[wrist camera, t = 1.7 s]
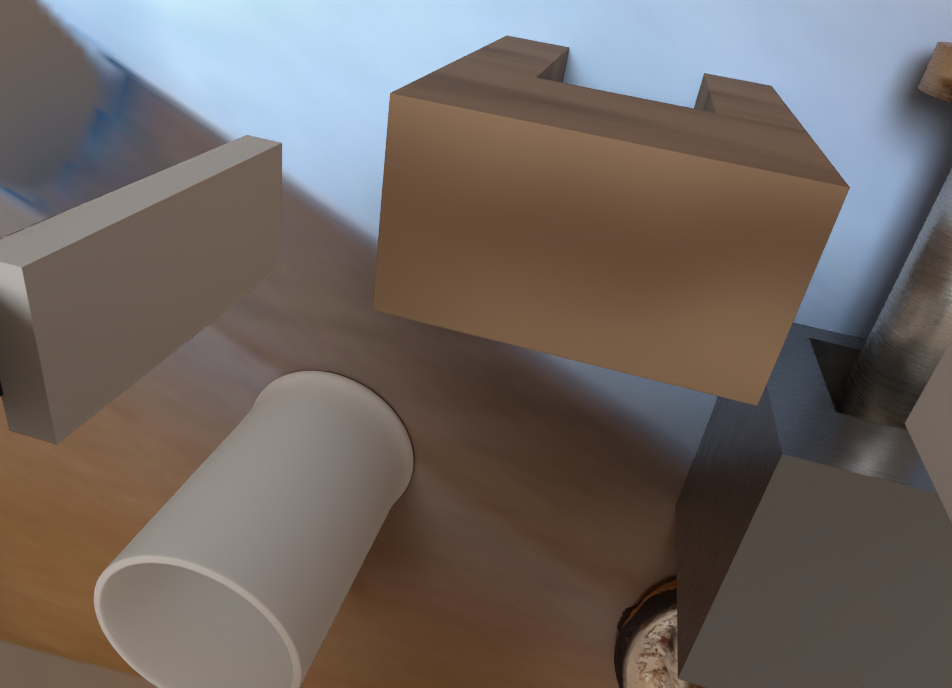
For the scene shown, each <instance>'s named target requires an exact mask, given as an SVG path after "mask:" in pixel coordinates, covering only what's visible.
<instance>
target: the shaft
mask: <svg viewBox="0 0 952 688" xmlns="http://www.w3.org/2000/svg"><path fill="white" fill-rule="evenodd" d="M918 89H919V90H921V91H922V92H924V93H926V94H928V95H931V96H933V97H936V98H939V99H941V100H944V101H947V102H950V103H952V43H950V42H938V43H937V45H936V47H935V50H934V52H933V54H932V56H931V59H930V61H929V63H928V65H927V68H926V70H925V72H924V75H923V77H922V79H921V81H920V84H919V86H918ZM951 340H952V168H951V170H950V172H949V174H948V176H947V178H946V180H945V182H944V185H943V187H942V189H941V191H940V193H939V195H938V197H937V199H936V201H935V203H934V205H933V207H932V209H931V211H930V213H929V215H928V217H927V219H926V221H925V223H924V225H923V227H922V229H921V231H920V233H919V235H918V237H917V239H916V241H915V243H914V246H913V248H912V250H911V252H910V254H909V256H908V258H907V260H906V262H905V264H904V266H903V268H902V270H901V272H900V274H899V276H898V278H897V280H896V282H895V284H894V286H893V288H892V290H891V292H890V294H889V296H888V298H887V300H886V302H885V304H884V307H883V309H882V311H881V313H880V315H879V317H878V319H877V321H876V323H875V325H874V327H873V329H872V331H871V333H870V335H869V337H868V339H867V341H866V343H865V345H864V347H863V349H862V351H861V353H860V355H859V357H858V359H857V361H856V363H855V365H854V368H853V370H852V372H851V374H850V376H849V378H848V380H847V382H846V384H845V386H844V388H843V390H842V392H841V394H840V396H839V398H838V400H837V402H836V404H835V406H834V409H835V411H836V413H840V414H844V415H848V416H852V417H856V418H860V419H864V420H868V421H873V422H877V423H881V424H885V425H889V426H893V427H897V428H901V429H905V430H907V428H906V425H905V422H906V420H907V418H908V417H909V415H910V413H911V411H912V409H913V408H914V406H915V404H916V402H917V401H918V399H919V397H920V395H921V394H922V392H923V390H924V388H925V386H926V385H927V383H928V381H929V379H930V378H931V376H932V374H933V372H934V371H935V369H936V367H937V365H938V363H939V362H940V360H941V358H942V356H943V355H944V353H945V351H946V349H947V348H948V346H949V344H950V342H951Z"/></svg>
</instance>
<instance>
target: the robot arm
mask: <svg viewBox="0 0 952 688" xmlns="http://www.w3.org/2000/svg"><path fill="white" fill-rule="evenodd" d="M281 225H282V143H280V142H276V141H271V140H267V139H263V138H258V137H254V136H249V135H246V136H243V137H241V138H239V139H236V140H234V141H232V142H229V143H227V144H225V145H222V146H220V147H217V148H215V149H213V150H210V151H208V152H206V153H203V154H201V155H198V156H196V157H194V158H191V159H189V160H187V161H184V162H182V163H180V164H177V165H175V166H172V167H170V168H168V169H165V170H163V171H161V172H158V173H156V174H153V175H151V176H149V177H146V178H144V179H142V180H139V181H137V182H134V183H132V184H130V185H127V186H125V187H123V188H120V189H118V190H116V191H113V192H111V193H108V194H106V195H104V196H101V197H99V198H97V199H94V200H92V201H89V202H87V203H85V204H82V205H80V206H78V207H75V208H73V209H71V210H68V211H66V212H63V213H61V214H59V215H55V216H53V217H50V218H48V219H45V220H43V221H41V222H38V223H36V224H34V225H31V226H29V227H28V228H26V229H22V230H19V231H17V232H15V233H12V234H10V235H8V236H7V237H4V238H0V396H2V401H3V405H4V409H5V413H6V417H7V421H8V426H9V430H10V431H13V432H17V433H20V434H23V435H27V436H30V437H33V438H36V439H40V440H43V441H46V442H50V443H53V444H56V445H57V444H58V443H60V442H61V441H62V440H63V439H65V438H66V437H67V436H68V435H70V434H71V433H72V432H74V431H75V430H76V429H77V428H79V427H80V426H81V425H82V424H84V423H85V422H86V421H87V420H89V419H90V418H91V417H93V416H94V415H95V414H96V413H98V412H99V411H100V410H101V409H103V408H104V407H105V406H106V405H108V404H109V403H110V402H112V401H113V400H114V399H115V398H117V397H118V396H119V395H120V394H122V393H123V392H124V391H125V390H127V389H128V388H129V387H130V386H132V385H133V384H134V383H136V382H137V381H138V380H139V379H141V378H142V377H143V376H144V375H146V374H147V373H148V372H149V371H151V370H152V369H153V368H155V367H156V366H157V365H158V364H160V363H161V362H162V361H163V360H165V359H166V358H167V357H168V356H170V355H171V354H172V353H174V352H175V351H176V350H177V349H179V348H180V347H181V346H182V345H184V344H185V343H186V342H187V341H189V340H190V339H191V338H193V337H194V336H195V335H196V334H198V333H199V332H200V331H201V330H203V329H204V328H205V327H206V326H208V325H209V324H210V323H212V322H213V321H214V320H215V319H217V318H218V317H219V316H220V315H222V314H223V313H224V312H225V311H227V310H228V309H229V308H231V307H232V306H233V305H234V304H236V303H237V302H238V301H239V300H241V299H242V298H243V297H244V296H246V295H247V294H248V293H250V292H251V291H252V290H253V289H255V288H256V287H257V286H258V285H260V284H261V283H262V282H263V281H265V280H266V279H267V278H268V277H270V276H271V275H272V274H274V273H275V272H276V271H277V270H279V269H280V268H281ZM905 425H906V428H907V430H908V432H909V434H910V436H911V438H912V440H913V442H914V444H915V447H916V449H917V451H918V453H919V455H920V457H921V459H922V461H923V463H924V466H925V468H926V470H927V472H928V474H929V476H930V478H931V480H932V482H933V484H934V487H935V489H936V491H937V493H938V495H939V497H940V499H941V501H942V503H943V506H944V508H945V510H946V512H947V514H948V516H949V518H950V520H951V522H952V340H951V342H950V344H949V346H948V348H947V349H946V351H945V353H944V355H943V356H942V358H941V360H940V362H939V363H938V365H937V367H936V369H935V371H934V372H933V374H932V376H931V378H930V379H929V381H928V383H927V385H926V386H925V388H924V390H923V392H922V394H921V395H920V397H919V399H918V401H917V402H916V404H915V406H914V408H913V409H912V411H911V413H910V415H909V417H908V418H907V420H906V422H905Z"/></svg>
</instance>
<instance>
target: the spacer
mask: <svg viewBox="0 0 952 688" xmlns="http://www.w3.org/2000/svg"><path fill="white" fill-rule="evenodd" d="M568 50H569V47H564V46H558V45H553V44H548V43H543V42H537V41H532V40H527V39H522V38H516V37H511V36H505V37H503V38H501V39H499V40H497V41H495V42H493V43H491V44H489V45H487V46H485V47H483V48H481V49H479V50H477V51H475V52H473V53H471V54H469V55H467V56H464V57H462V58H460V59H458V60H456V61H454V62H452V63H450V64H448V65H446V66H444V67H442V68H440V69H438V70H436V71H434V72H432V73H430V74H428V75H426V76H424V77H422V78H420V79H418V80H416V81H414V82H412V83H410V84H408V85H406V86H404V87H402V88H400V89H398V90H396V91H394V92H392V93H390V102H389V115H388V127H387V139H386V151H385V163H384V176H383V188H382V200H381V212H380V225H379V237H378V249H377V261H376V274H375V286H374V298H373V310H374V311H378V312H382V313H386V314H390V315H394V316H398V317H402V318H406V319H410V320H414V321H418V322H422V323H426V324H430V325H434V326H438V327H442V328H446V329H450V330H454V331H458V332H462V333H466V334H470V335H474V336H478V337H482V338H487V339H491V340H495V341H499V342H503V343H507V344H511V345H515V346H519V347H523V348H527V349H531V350H535V351H539V352H543V353H547V354H551V355H555V356H559V357H563V358H567V359H571V360H575V361H579V362H583V363H587V364H591V365H595V366H599V367H603V368H607V369H611V370H615V371H619V372H623V373H627V374H631V375H635V376H639V377H643V378H648V379H652V380H656V381H660V382H664V383H668V384H672V385H676V386H680V387H684V388H688V389H692V390H696V391H700V392H704V393H708V394H712V395H716V396H720V397H724V398H728V399H732V400H736V401H740V402H744V403H748V404H752V405H756V406H757V405H758V403H759V401H760V398H761V396H762V394H763V391H764V389H765V387H766V384H767V382H768V379H769V377H770V375H771V372H772V370H773V368H774V365H775V363H776V361H777V358H778V356H779V354H780V351H781V349H782V346H783V344H784V342H785V339H786V337H787V335H788V332H789V330H790V328H791V325H792V323H793V321H794V318H795V316H796V313H797V311H798V309H799V306H800V304H801V302H802V299H803V297H804V295H805V292H806V290H807V288H808V285H809V283H810V280H811V278H812V276H813V273H814V271H815V269H816V266H817V264H818V262H819V259H820V257H821V255H822V252H823V250H824V247H825V245H826V243H827V240H828V238H829V236H830V233H831V231H832V229H833V226H834V224H835V222H836V219H837V217H838V214H839V212H840V210H841V207H842V205H843V203H844V200H845V198H846V196H847V193H848V191H849V189H850V187H849V186H848V185H847V183H846V182H845V181H844V179H843V178H842V177H841V175H840V174H839V173H838V172H837V170H836V169H835V168H834V166H833V165H832V164H831V163H830V161H829V160H828V159H827V157H826V156H825V155H824V153H823V152H822V151H821V150H820V148H819V147H818V146H817V144H816V143H815V142H814V140H813V139H812V138H811V137H810V135H809V134H808V133H807V131H806V130H805V129H804V127H803V126H802V125H801V124H800V122H799V121H798V120H797V118H796V117H795V116H794V115H793V113H792V112H791V111H790V109H789V108H788V107H787V105H786V104H785V103H784V102H783V100H782V99H781V98H780V96H779V95H778V94H777V92H776V91H775V90H774V89H773V87H772V86H769V85H763V84H758V83H753V82H748V81H742V80H737V79H732V78H727V77H721V76H716V75H711V74H706V73H704V76H703V80H702V83H701V86H700V90H699V93H698V97H697V100H696V104H695V107H694V109H693V108H688V107H683V106H677V105H672V104H667V103H662V102H657V101H652V100H647V99H642V98H637V97H632V96H627V95H622V94H617V93H611V92H606V91H601V90H596V89H591V88H586V87H581V86H576V85H571V84H566V83H562V81H563V76H564V71H565V66H566V61H567V55H568Z"/></svg>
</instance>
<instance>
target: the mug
mask: <svg viewBox="0 0 952 688" xmlns="http://www.w3.org/2000/svg"><path fill="white" fill-rule="evenodd" d="M413 462H414V460H413V450H412V445H411V442H410V438H409V436H408V433H407V431H406V429H405V427H404V425H403V424H402V422H401V420H400V419H399V417H398V416H397V415H396V413H395V412H394V411H393V410H392V408H391V407H390V406H389V405H388V404H387V403H386V402H385V401H384V400H383V399H382V398H380V397H379V396H378V395H377V394H375V393H374V392H373V391H371V390H370V389H368V388H367V387H365V386H363V385H362V384H360V383H358V382H356V381H354V380H352V379H349V378H347V377H344V376H341V375H338V374H334V373H330V372H324V371H299V372H294V373H290V374H287V375H284V376H282V377H280V378H278V379H276V380H274V381H273V382H271V383H270V384H269V385H268V386H266V387H265V388H264V389H263V391H262V392H261V393H260V394H259V396H258V397H257V399H256V401H255V402H254V405H253V407H252V409H251V410H250V412H249V413H248V414H247V415H246V416H245V418H244V419H243V420H242V421H241V422H240V423H239V424H238V425H237V427H236V428H235V429H234V430H233V431H232V432H231V433H230V434H229V435H228V436H227V437H226V439H225V440H224V441H223V442H222V443H221V444H220V445H219V446H218V447H217V448H216V449H215V450H214V452H213V453H212V454H211V455H210V456H209V457H208V458H207V459H206V460H205V461H204V462H203V464H202V465H201V466H200V467H199V468H198V469H197V470H196V471H195V472H194V473H193V474H192V475H191V477H190V478H189V479H188V480H187V481H186V482H185V483H184V484H183V485H182V486H181V487H180V489H179V490H178V491H177V492H176V493H175V494H174V495H173V496H172V497H171V498H170V499H169V500H168V502H167V503H166V504H165V505H164V506H163V507H162V508H161V509H160V510H159V511H158V512H157V513H156V515H155V516H154V517H153V518H152V519H151V520H150V521H149V522H148V523H147V524H146V525H145V527H144V528H143V529H142V530H141V531H140V532H139V533H138V534H137V535H136V536H135V537H134V538H133V540H132V541H131V542H130V543H129V544H128V545H127V546H126V547H125V548H124V549H123V550H122V552H121V553H120V554H119V555H118V556H117V557H116V558H115V559H114V560H113V561H112V562H111V564H110V565H109V566H108V567H107V568H106V569H105V570H104V572H103V573H102V574H101V576H100V577H99V579H98V581H97V583H96V587H95V591H94V607H95V612H96V616H97V619H98V621H99V624H100V626H101V628H102V630H103V632H104V634H105V636H106V637H107V639H108V640H109V642H110V643H111V645H112V646H113V647H114V649H115V650H116V651H117V653H118V654H119V655H120V656H121V657H122V658H123V659H124V660H125V661H126V662H127V663H128V664H129V665H130V666H131V667H132V668H133V669H134V670H135V671H136V672H137V673H139V674H140V675H141V676H142V677H144V678H145V679H146V680H148V681H149V682H150V683H152V684H153V685H155V686H156V687H158V688H300V686H301V684H302V682H303V680H304V678H305V676H306V675H307V673H308V671H309V669H310V667H311V665H312V663H313V661H314V659H315V657H316V655H317V653H318V651H319V649H320V647H321V645H322V643H323V641H324V639H325V637H326V635H327V633H328V631H329V629H330V627H331V625H332V623H333V621H334V619H335V617H336V615H337V613H338V611H339V609H340V607H341V605H342V603H343V601H344V599H345V597H346V595H347V594H348V592H349V590H350V588H351V586H352V584H353V582H354V580H355V578H356V576H357V574H358V572H359V570H360V568H361V566H362V564H363V562H364V560H365V558H366V556H367V554H368V552H369V550H370V548H371V546H372V544H373V542H374V540H375V538H376V536H377V534H378V532H379V530H380V528H381V526H382V524H383V522H384V521H385V519H386V517H387V515H388V513H389V511H390V509H391V507H392V506H393V504H394V503H395V502H396V501H397V500H398V499H399V498H400V497H401V495H402V494H403V493H404V491H405V490H406V488H407V486H408V484H409V482H410V479H411V476H412V472H413Z"/></svg>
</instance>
